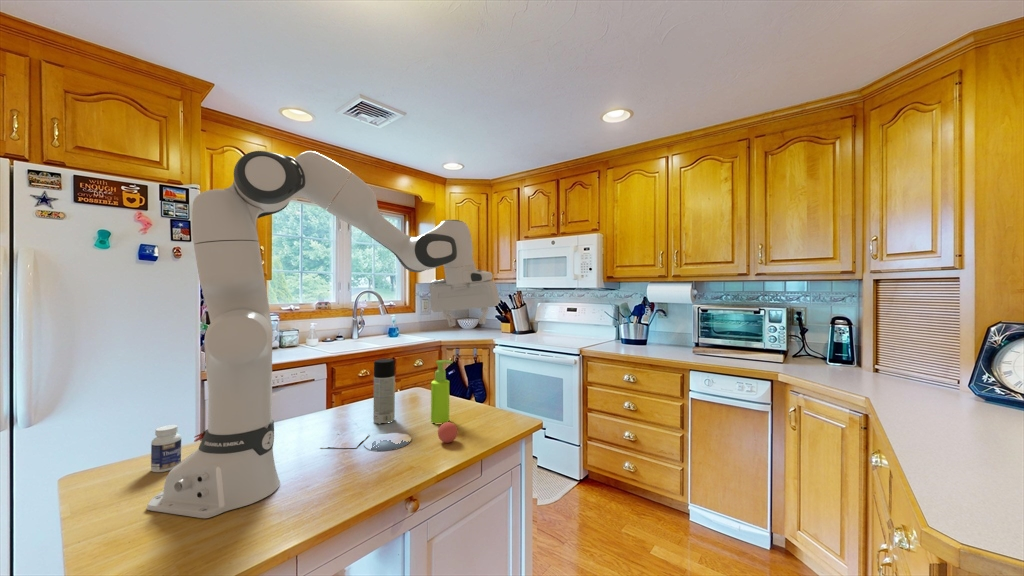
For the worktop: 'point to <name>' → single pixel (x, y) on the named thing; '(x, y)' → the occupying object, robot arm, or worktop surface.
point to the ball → (447, 432)
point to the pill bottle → (165, 449)
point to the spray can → (384, 390)
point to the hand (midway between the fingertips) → (467, 324)
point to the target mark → (387, 445)
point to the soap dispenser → (440, 395)
